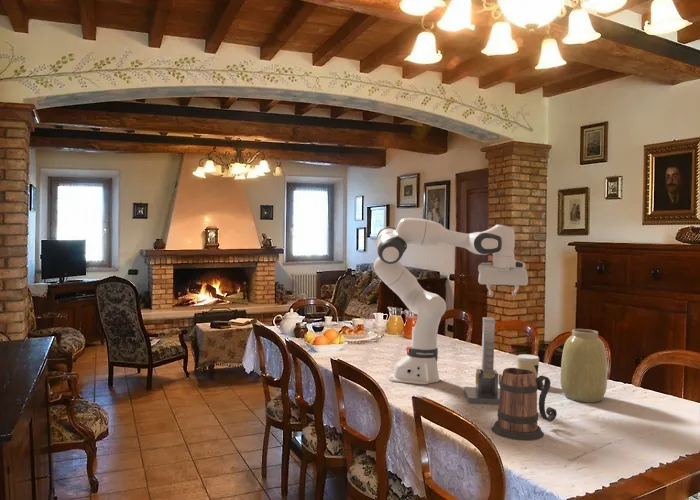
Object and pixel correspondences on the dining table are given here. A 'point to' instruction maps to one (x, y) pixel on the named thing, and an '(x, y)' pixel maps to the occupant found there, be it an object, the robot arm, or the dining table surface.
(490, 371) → the column
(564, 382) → the vase
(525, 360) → the coffee cup
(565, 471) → the dining table surface
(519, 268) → the robot arm
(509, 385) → the tankard
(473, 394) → the stand base
